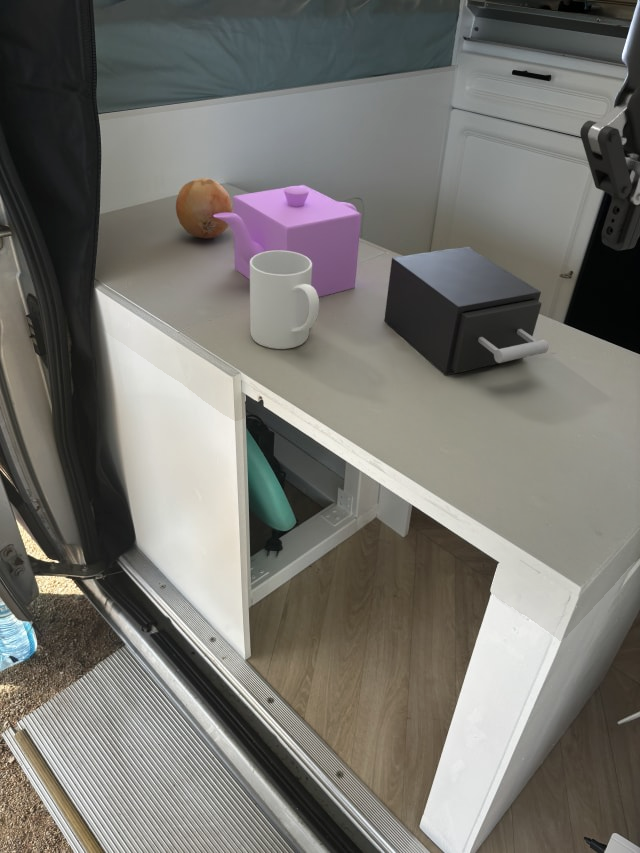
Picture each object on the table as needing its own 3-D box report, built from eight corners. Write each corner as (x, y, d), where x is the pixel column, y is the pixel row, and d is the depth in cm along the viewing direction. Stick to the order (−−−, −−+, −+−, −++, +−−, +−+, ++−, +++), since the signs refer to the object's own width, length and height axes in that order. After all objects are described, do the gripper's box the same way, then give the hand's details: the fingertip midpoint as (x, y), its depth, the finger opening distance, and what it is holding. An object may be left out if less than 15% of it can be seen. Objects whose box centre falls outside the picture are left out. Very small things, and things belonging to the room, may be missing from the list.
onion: (223, 224, 122) (221, 168, 116) (240, 243, 115) (239, 185, 109) (172, 229, 118) (167, 172, 112) (186, 249, 111) (182, 189, 105)
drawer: (552, 376, 82) (570, 320, 78) (479, 394, 78) (493, 337, 74) (462, 309, 96) (473, 259, 92) (396, 321, 92) (403, 269, 87)
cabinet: (523, 357, 88) (541, 291, 82) (445, 375, 83) (458, 306, 77) (456, 307, 99) (468, 246, 93) (383, 321, 94) (391, 257, 88)
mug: (240, 329, 90) (238, 256, 83) (289, 317, 93) (291, 246, 87) (286, 371, 82) (288, 294, 76) (337, 355, 85) (343, 280, 79)
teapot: (194, 277, 102) (188, 186, 94) (324, 249, 114) (329, 166, 106) (242, 317, 93) (240, 219, 84) (379, 281, 105) (389, 192, 96)
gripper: (680, -10, 37) (589, 275, 48) (822, -4, 42) (712, 253, 53) (585, -20, 43) (522, 239, 53) (722, -13, 47) (639, 222, 58)
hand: (617, 246), depth 53 cm, fingers closed
